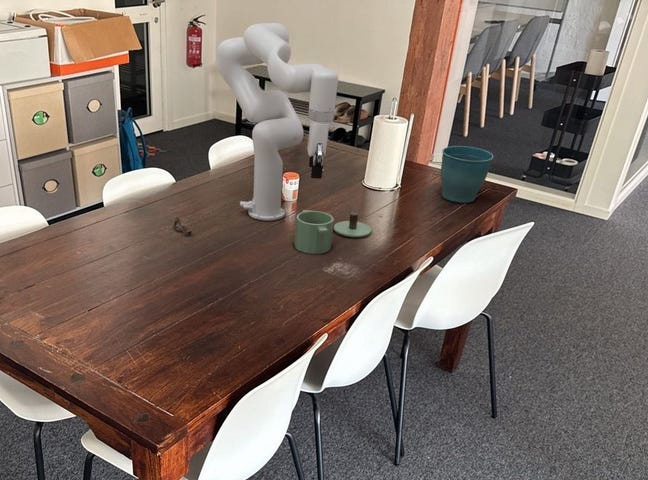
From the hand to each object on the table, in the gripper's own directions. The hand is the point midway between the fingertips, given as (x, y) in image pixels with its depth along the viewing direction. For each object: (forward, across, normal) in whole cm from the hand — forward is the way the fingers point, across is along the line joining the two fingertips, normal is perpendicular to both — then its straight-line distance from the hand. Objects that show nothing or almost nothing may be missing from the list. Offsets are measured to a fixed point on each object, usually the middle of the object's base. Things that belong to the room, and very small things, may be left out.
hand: (315, 172), depth 209 cm
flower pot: (+22, -41, +59) cm, 75 cm away
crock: (+21, +8, +1) cm, 22 cm away
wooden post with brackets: (+22, 0, -41) cm, 47 cm away
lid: (+21, -6, +15) cm, 26 cm away
